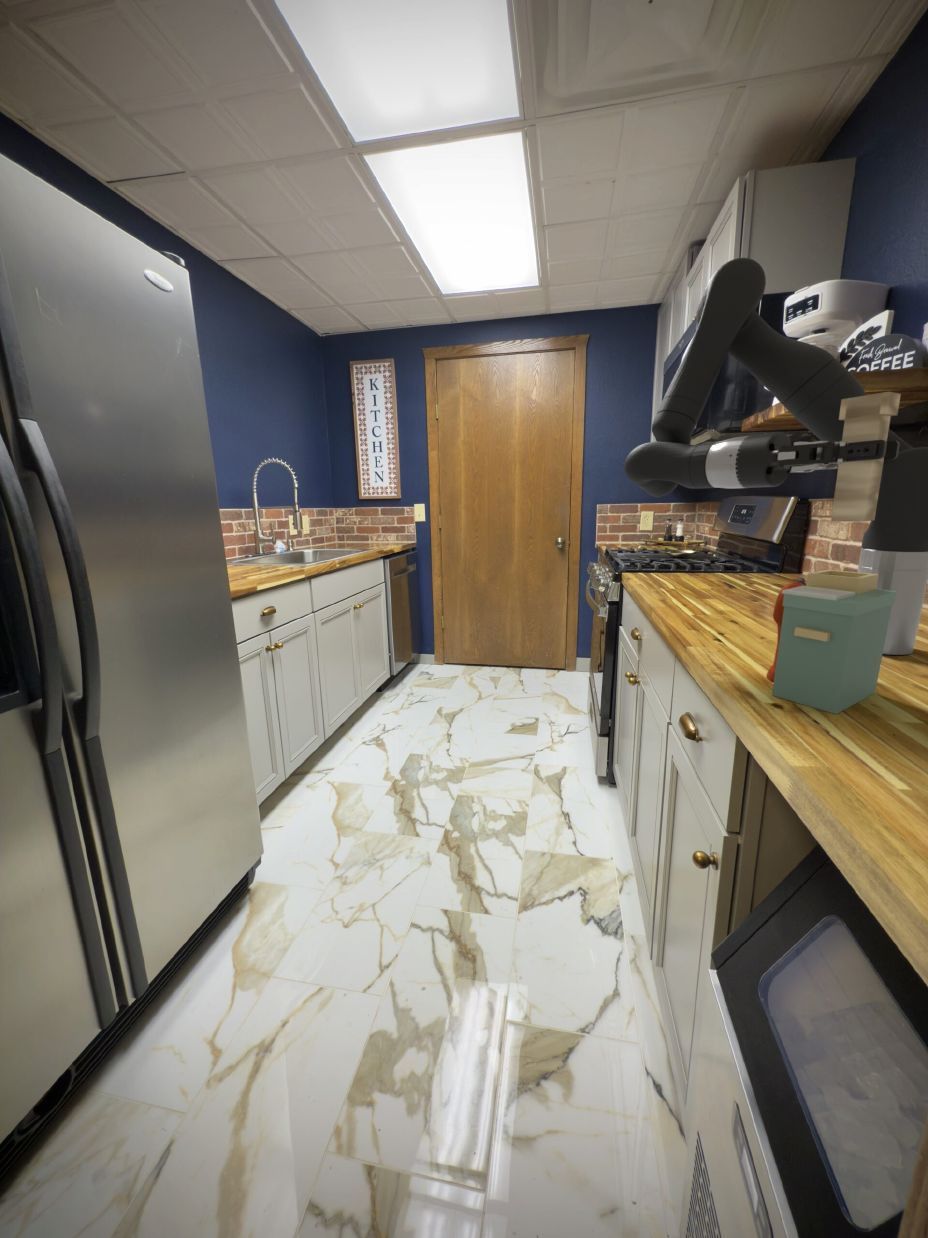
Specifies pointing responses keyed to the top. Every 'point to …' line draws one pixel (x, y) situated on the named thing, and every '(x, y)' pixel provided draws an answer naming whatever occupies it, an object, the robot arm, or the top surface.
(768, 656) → the top surface
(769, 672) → the toy drill
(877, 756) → the top surface
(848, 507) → the wooden key
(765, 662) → the top surface
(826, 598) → the tool chest
